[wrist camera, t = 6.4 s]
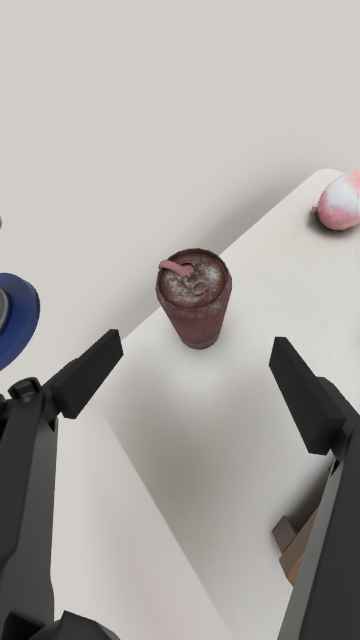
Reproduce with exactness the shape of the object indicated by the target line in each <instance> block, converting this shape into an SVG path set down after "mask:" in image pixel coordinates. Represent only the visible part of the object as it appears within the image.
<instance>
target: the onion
mask: <svg viewBox="0 0 360 640" xmlns="http://www.w3.org/2000/svg"><path fill="white" fill-rule="evenodd" d="M313 213H315V214H316V215H317V213H318V217H319V219H320V221H321V222H322V224H323V225H325V226H326V227H327V228H329V229H332V230H340V231H341V232H343V230H344V229H348V228H351V227H354V226H356V225H358V224H360V171H355V172H351V173H348V174H345V175H342V176H340V177H339V178H337V179H336V180H334V181H333V182H332V183H331V184H330V185H329V186H328V187H326V189H325V190H324V191H323V193H322V195H321V197H320V199H319V202H318V207H312V214H313ZM313 219H314V220H315V219H316V218H315V216H314V214H313ZM316 220H317V219H316Z"/></svg>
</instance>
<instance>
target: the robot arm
mask: <svg viewBox="0 0 360 640" xmlns="http://www.w3.org/2000/svg"><path fill="white" fill-rule="evenodd" d="M1 226H2V221H1V217H0V228H1ZM11 313H12V301H11V298H10V296H9V294H8V293H7V292H6V291H4V290H2V289H0V336H1V335H2V333H3V332H4V330H5V328H6V327H7V325H8V323H9V320H10V317H11ZM123 355H124V354H123V350H122V345H121V341H120V336H119V332H118V330H116V329H110V330H109V331H108V332H107V333H106V334H104V335H103V336H102V337H101V338H100V339H99V340H98V341H97V342H96V343H94V344H93V345H92V346H91V347H90V348H89V349H88V350H87V351H86V352H85V353H83V354H82V355H81V356H80V357H79V358H76V359H74V360H72V361H71V362H69V363H68V364H67V365H65V366H64V367H63V369H61V370H60V371H59V372H58V373H56V374H55V375H54V376H53V377H52V378H51V379H49V380H48V381H47V382H46V383H45V384H44V385H43V386H41V385H40V383H39V381H38V379H37V378H35V377H30V378H26V379H23V380H20V381H18V382H17V383H15V384H14V385H12V386H11V387H10V388H9V389H8V393H9V394H10V396H11V397H12V399H7V400H6V399H5V398H4V396H3V395H2V394H0V640H120V639H119V638H118V637H117V635H116V634H115V633H114V632H112V631H110V630H109V629H107V628H105V627H104V626H102V625H101V624H99V623H97V622H96V621H93V620H91V619H88V618H85V617H82V616H79V615H76V614H74V613H71V612H68V611H65V610H64V612H63V615H62V617H61V619H60V620H57V621H55V622H54V593H53V588H52V584H51V578H50V564H51V546H52V527H53V509H54V491H55V473H56V454H57V435H58V418H57V415H58V414H59V413H60V412H62V414H63V416H64V418H70V419H76V417H77V416H78V414H79V413H80V412H81V410H82V409H83V408H84V407H85V405H86V404H87V403H88V401H89V400H90V399H91V397H92V396H93V395H94V393H95V392H96V391H97V389H98V388H99V387H100V385H101V384H102V383H103V381H104V380H105V379H106V377H107V376H108V375H109V373H110V372H111V371H112V369H113V368H114V367H115V365H116V364H117V363H118V361H119V360H120V359H121V357H122V356H123ZM269 367H270V369H271V371H272V373H273V375H274V377H275V380H276V382H277V384H278V386H279V388H280V391H281V393H282V395H283V397H284V399H285V402H286V404H287V406H288V408H289V410H290V413H291V415H292V417H293V419H294V421H295V424H296V426H297V428H298V430H299V432H300V435H301V437H302V439H303V441H304V443H305V445H306V448H307V450H308V452H309V453H312V454H319V455H327V453H328V452H329V450H330V448H331V450H332V452H333V453H334V455H335V457H336V458H335V459H334V461H333V463H332V464H331V466H330V468H329V469H328V470H329V471H330V474H329V477H328V480H327V483H326V486H325V490H324V493H323V496H322V499H321V502H320V505H319V509H318V512H317V515H316V518H315V521H314V524H313V528H312V531H311V534H310V537H309V540H308V543H307V547H306V550H305V553H304V556H303V559H302V562H301V566H300V569H299V572H298V575H297V578H296V581H295V585H294V588H293V591H292V594H291V597H290V600H289V604H288V607H287V610H286V613H285V616H284V619H283V623H282V626H281V629H280V632H279V635H278V638H277V640H360V415H359V414H358V413H357V412H356V410H355V409H354V408H353V407H352V406H351V404H350V403H349V402H348V401H347V400H345V397H344V396H343V395H342V394H341V393H340V391H339V390H338V389H337V388H336V387H335V385H334V384H333V383H331V382H330V381H329V380H327V379H326V378H324V377H316V376H315V375H314V374H313V372H312V371H311V370H310V368H309V367H308V366H307V364H306V363H305V362H304V360H303V359H302V358H301V356H300V355H299V354H298V352H297V351H296V350H295V348H294V347H293V346H292V345H291V343H290V342H289V341H288V339H287V338H286V337H275V340H274V344H273V349H272V353H271V357H270V362H269Z"/></svg>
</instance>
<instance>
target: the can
mask: <svg viewBox="0 0 360 640" xmlns="http://www.w3.org/2000/svg"><path fill="white" fill-rule="evenodd" d="M231 290H232V277H231V275H230V273H229V270H228V268H227V267H226V265H225V262H224V261H223V260H222V259H221V258H220V257H219V256H218V255H216V254H214V253H213V252H211V251H209V250H204V249H200V248H196V249H186V250H183V251H179V252H177V253H176V254H174V255H172V256H170V257H169V258H168V259H167V260H164V261H162V262H161V263H160V264H159V272H158V277H157V282H156V294H157V298H158V300H159V302H160V304H161V306H162V307H163V309H164V311H165V312H166V314H167V316H168V318H169V319H170V321H171V323H172V324H173V326H174V328H175V330H176V331H177V333H178V335H179V336H180V338H181V340H182V341H183V343H185V344H186V345H187V346H188V347H191V348H194V349H204V348H208V347H209V346H211V345H213V344H214V343H215V341H216V340H217V339H218V336H219V334H220V330H221V327H222V323H223V319H224V316H225V312H226V308H227V305H228V301H229V298H230V294H231Z"/></svg>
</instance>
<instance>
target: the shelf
mask: <svg viewBox="0 0 360 640" xmlns="http://www.w3.org/2000/svg"><path fill="white" fill-rule="evenodd" d="M318 509H319V506H318V507H317V509H316V510H315V511H314V513H313V514H312V515H311V517H310V518H309V519H308V521H307V522H306V523H305V525H304V526H303V528H302V529H301V530H300V532H298V531H297V530H296V528H295V527H294V526H293V525H292V524H291V522H290V521H289V520H288V519H287V518H286V517H285V516H284V517H283V518H282V520H281V521H280V522H279V523H278V525H277V526H276V527H275V529H274V530H273V534H274V537H275V539H276V541H277V543H278V546H279V548H280V550H281V553H282V556H281V557H280V559H279V561H280V564H281V566H282V569H283V571H284V573H285V576H286V578H287V579H288V580H289V582H290V583H291V584H292V586H293V587H294V585H295V581H296V578H297V575H298V572H299V569H300V566H301V562H302V559H303V556H304V553H305V550H306V547H307V543H308V540H309V537H310V534H311V531H312V528H313V524H314V521H315V518H316V515H317V512H318Z"/></svg>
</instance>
